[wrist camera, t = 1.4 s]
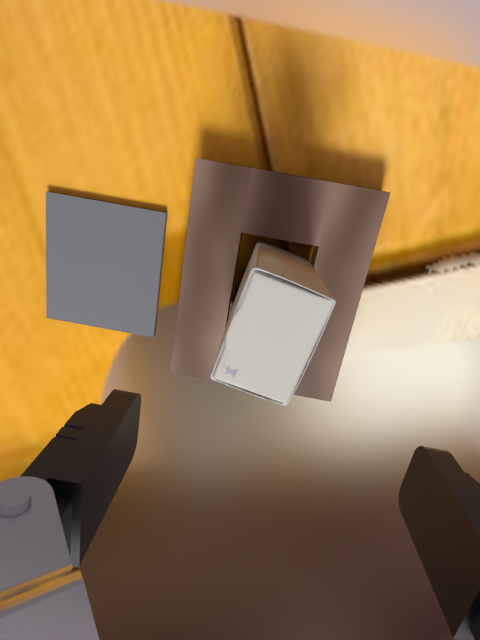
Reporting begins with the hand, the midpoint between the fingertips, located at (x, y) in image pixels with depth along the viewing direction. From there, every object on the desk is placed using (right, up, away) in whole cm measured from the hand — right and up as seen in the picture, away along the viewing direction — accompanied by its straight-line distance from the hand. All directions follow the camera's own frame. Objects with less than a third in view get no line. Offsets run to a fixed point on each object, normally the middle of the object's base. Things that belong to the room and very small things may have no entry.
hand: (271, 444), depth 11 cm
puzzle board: (+1, +6, +19) cm, 20 cm away
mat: (-12, +8, +19) cm, 24 cm away
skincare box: (+1, +6, +19) cm, 20 cm away
